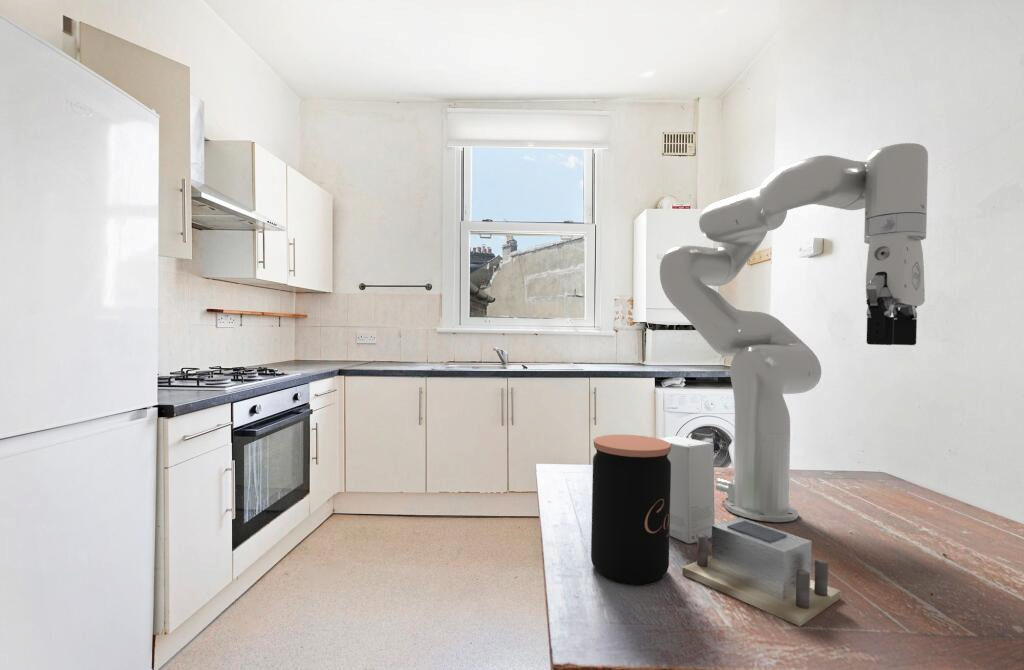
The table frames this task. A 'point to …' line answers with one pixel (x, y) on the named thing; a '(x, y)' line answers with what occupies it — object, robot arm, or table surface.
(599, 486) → the coffee jar
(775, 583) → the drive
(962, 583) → the table surface
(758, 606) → the cream peg board
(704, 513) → the skincare box
